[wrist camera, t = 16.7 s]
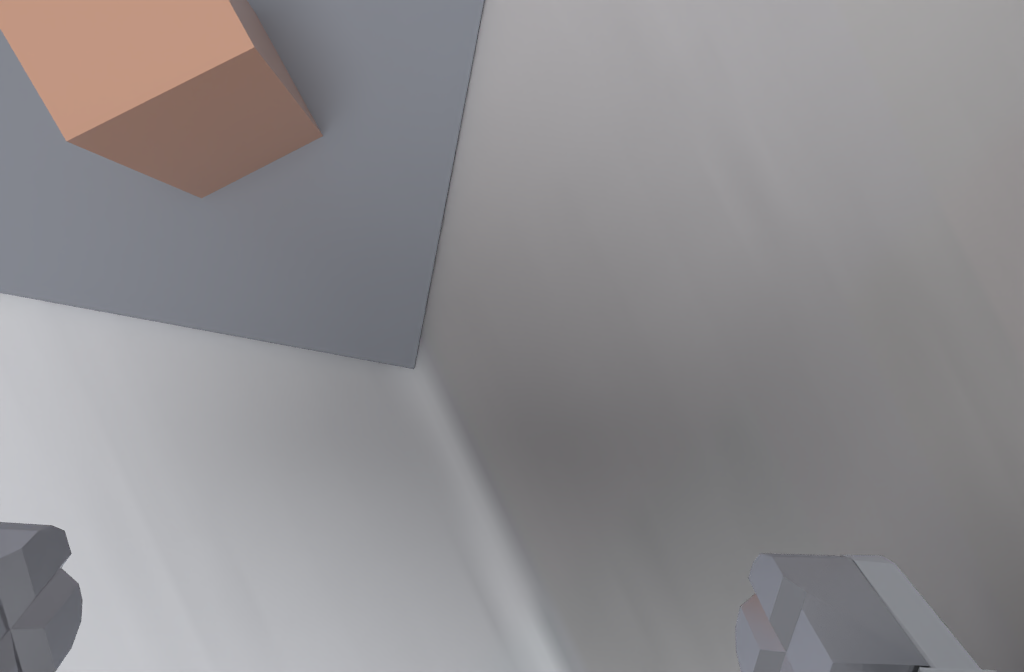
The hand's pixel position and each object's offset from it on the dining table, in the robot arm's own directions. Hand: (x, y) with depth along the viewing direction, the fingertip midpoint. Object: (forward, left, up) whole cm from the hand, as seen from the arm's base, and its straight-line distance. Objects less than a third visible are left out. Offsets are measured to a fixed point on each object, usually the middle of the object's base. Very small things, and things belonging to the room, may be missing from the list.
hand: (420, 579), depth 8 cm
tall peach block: (+12, -10, -22) cm, 27 cm away
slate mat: (+11, -10, -23) cm, 27 cm away
